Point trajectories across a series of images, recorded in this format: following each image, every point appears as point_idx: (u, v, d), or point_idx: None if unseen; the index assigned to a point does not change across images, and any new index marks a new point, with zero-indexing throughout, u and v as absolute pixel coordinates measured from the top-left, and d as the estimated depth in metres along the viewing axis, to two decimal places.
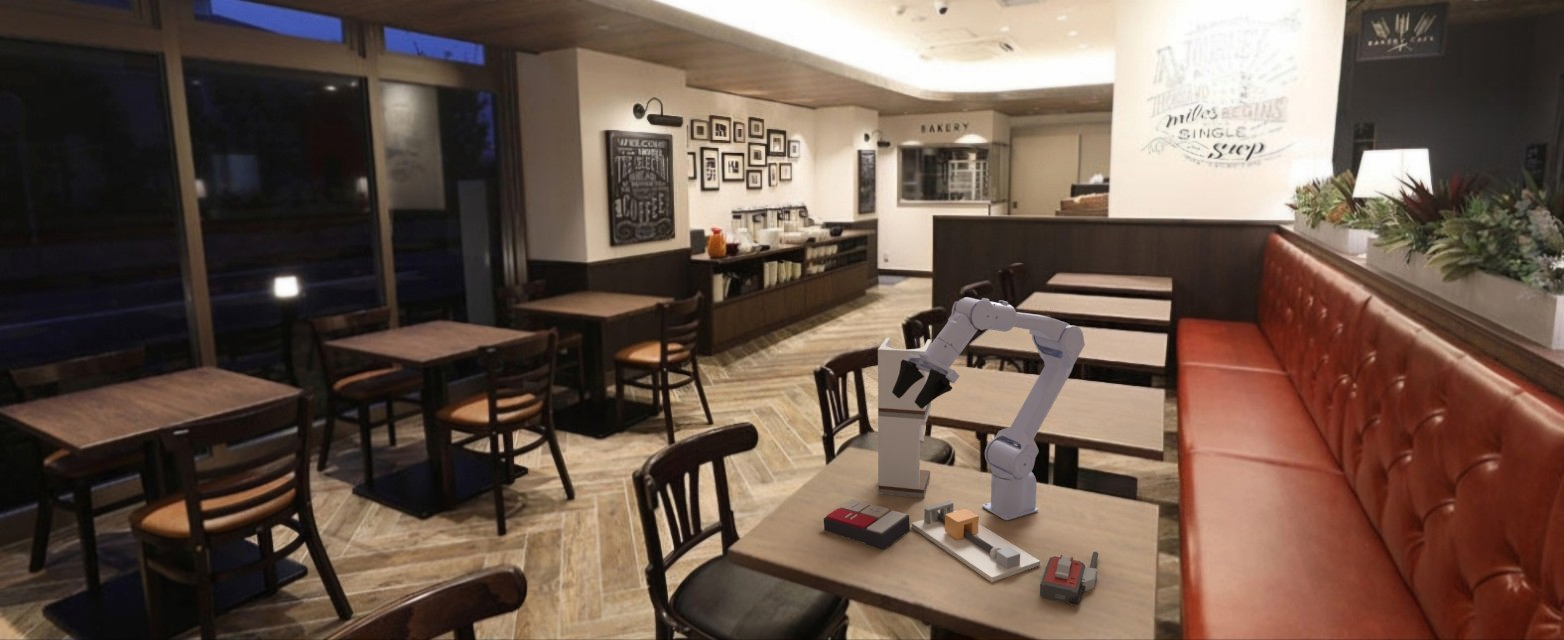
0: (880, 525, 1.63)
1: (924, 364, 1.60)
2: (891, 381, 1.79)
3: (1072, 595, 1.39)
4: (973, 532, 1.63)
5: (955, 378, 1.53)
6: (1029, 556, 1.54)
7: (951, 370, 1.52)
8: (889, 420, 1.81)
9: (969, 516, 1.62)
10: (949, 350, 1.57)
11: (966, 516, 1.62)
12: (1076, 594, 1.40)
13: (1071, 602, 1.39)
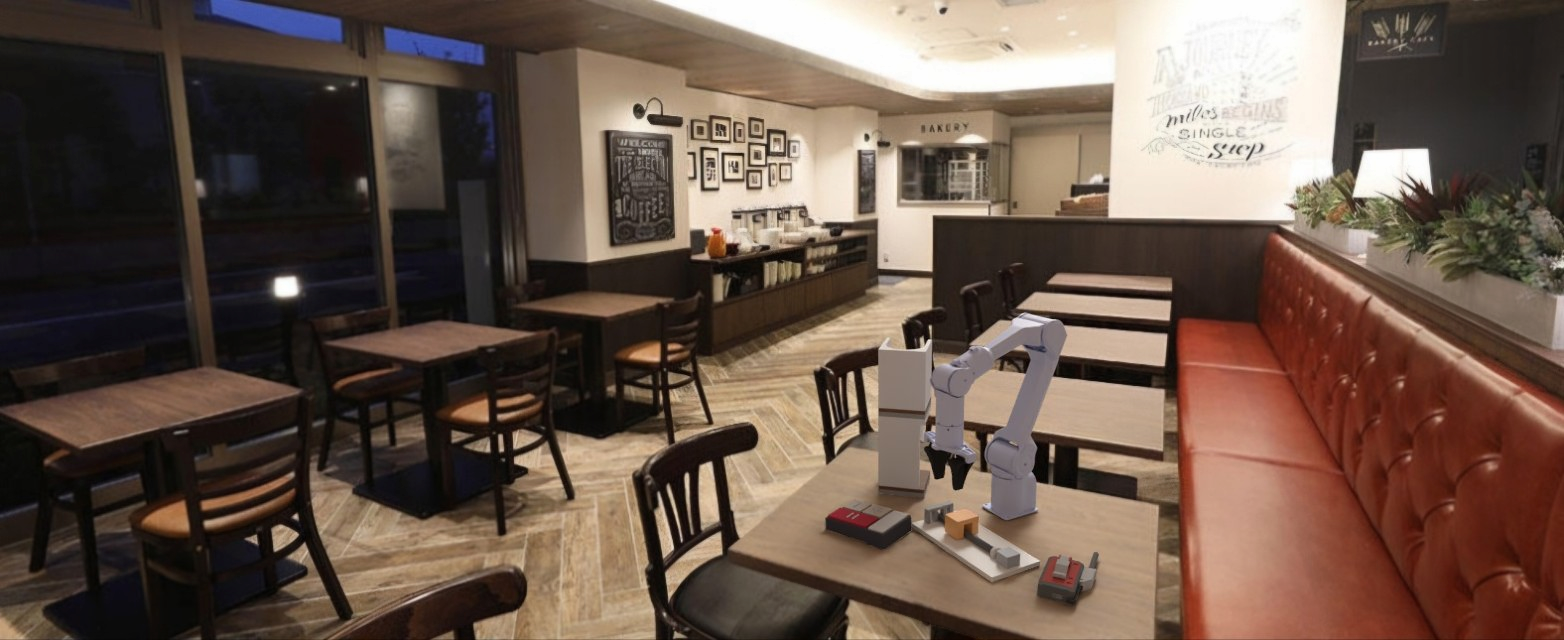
0: (881, 525, 1.63)
1: None
2: (891, 381, 1.79)
3: (1069, 594, 1.40)
4: (973, 532, 1.63)
5: (974, 457, 1.58)
6: (1029, 556, 1.54)
7: (966, 455, 1.58)
8: (890, 421, 1.81)
9: (969, 516, 1.62)
10: (953, 430, 1.60)
11: (966, 516, 1.62)
12: (1073, 594, 1.40)
13: (1068, 602, 1.39)
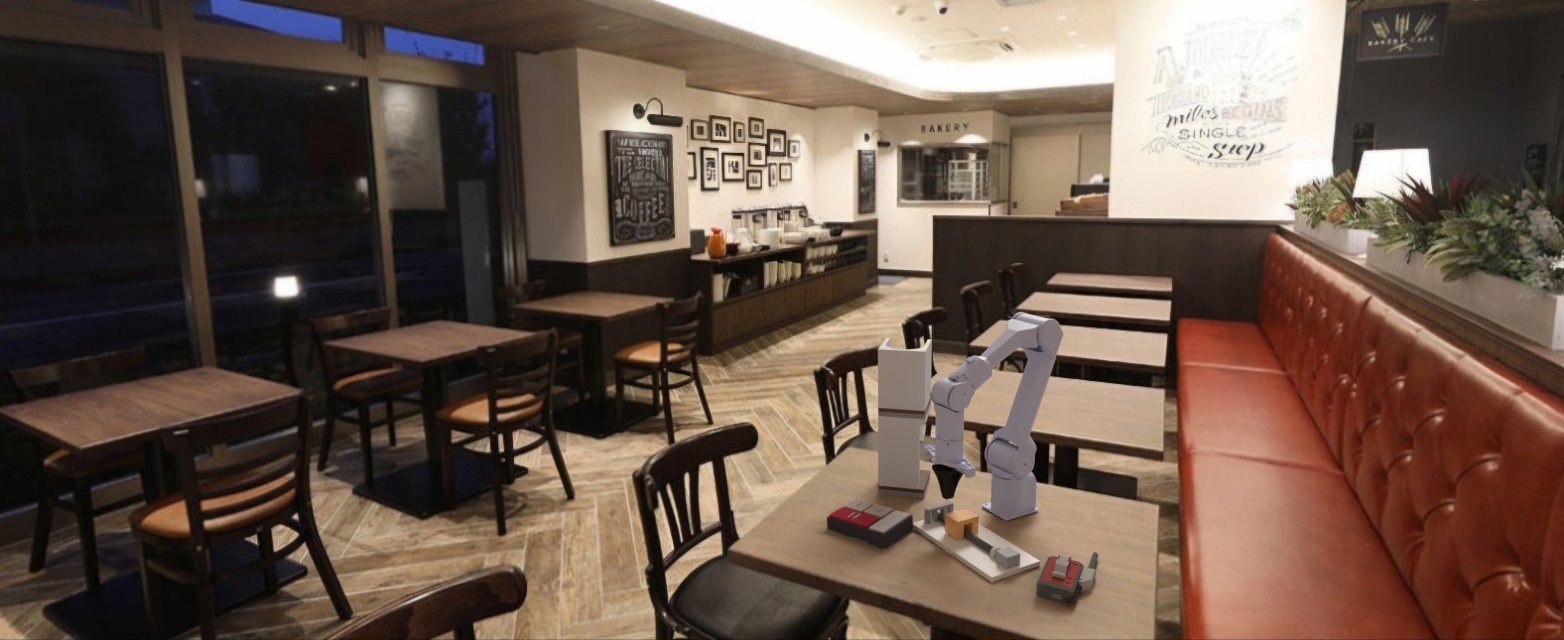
0: (882, 525, 1.63)
1: None
2: (891, 381, 1.79)
3: (1068, 594, 1.40)
4: (973, 532, 1.63)
5: (973, 472, 1.59)
6: (1029, 556, 1.54)
7: (966, 469, 1.58)
8: (889, 420, 1.81)
9: (969, 516, 1.62)
10: (953, 445, 1.61)
11: (966, 516, 1.62)
12: (1072, 594, 1.40)
13: (1067, 602, 1.39)
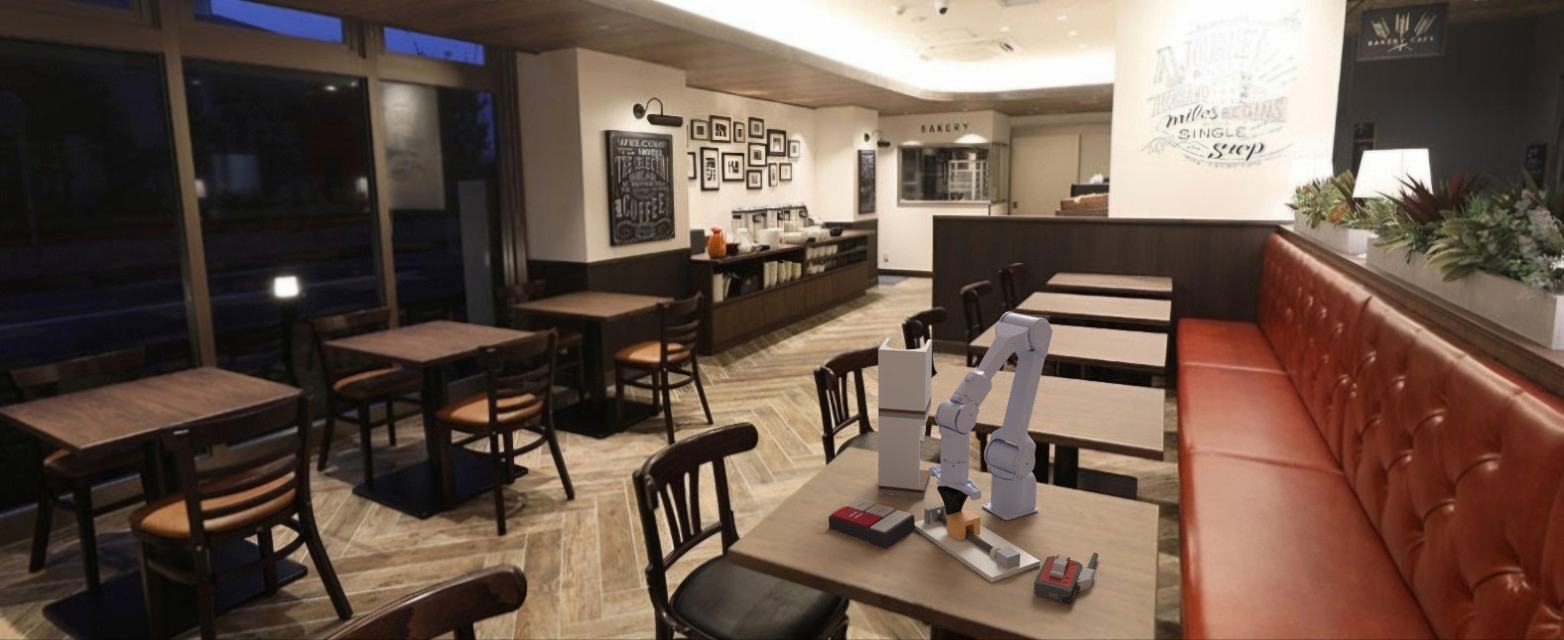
0: (884, 524, 1.63)
1: None
2: (891, 381, 1.79)
3: (1065, 594, 1.40)
4: (975, 533, 1.62)
5: (979, 494, 1.58)
6: (1029, 556, 1.54)
7: (971, 492, 1.58)
8: (890, 421, 1.81)
9: (971, 517, 1.62)
10: (958, 467, 1.60)
11: (968, 518, 1.62)
12: (1069, 593, 1.40)
13: (1064, 601, 1.39)
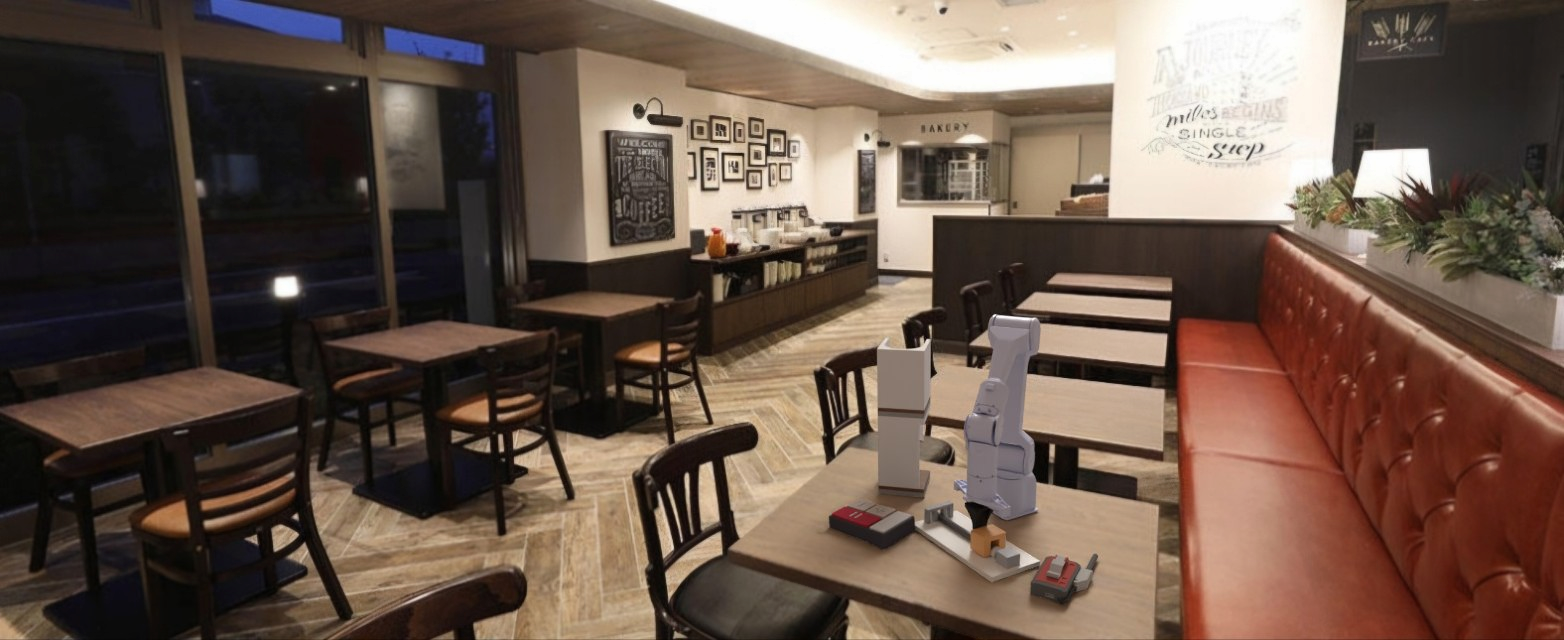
0: (883, 525, 1.63)
1: None
2: (890, 380, 1.80)
3: (1061, 594, 1.40)
4: None
5: (1008, 511, 1.51)
6: (1029, 556, 1.54)
7: (1000, 509, 1.50)
8: (889, 420, 1.82)
9: (996, 532, 1.55)
10: (986, 482, 1.53)
11: (993, 533, 1.55)
12: (1065, 594, 1.40)
13: (1059, 601, 1.39)
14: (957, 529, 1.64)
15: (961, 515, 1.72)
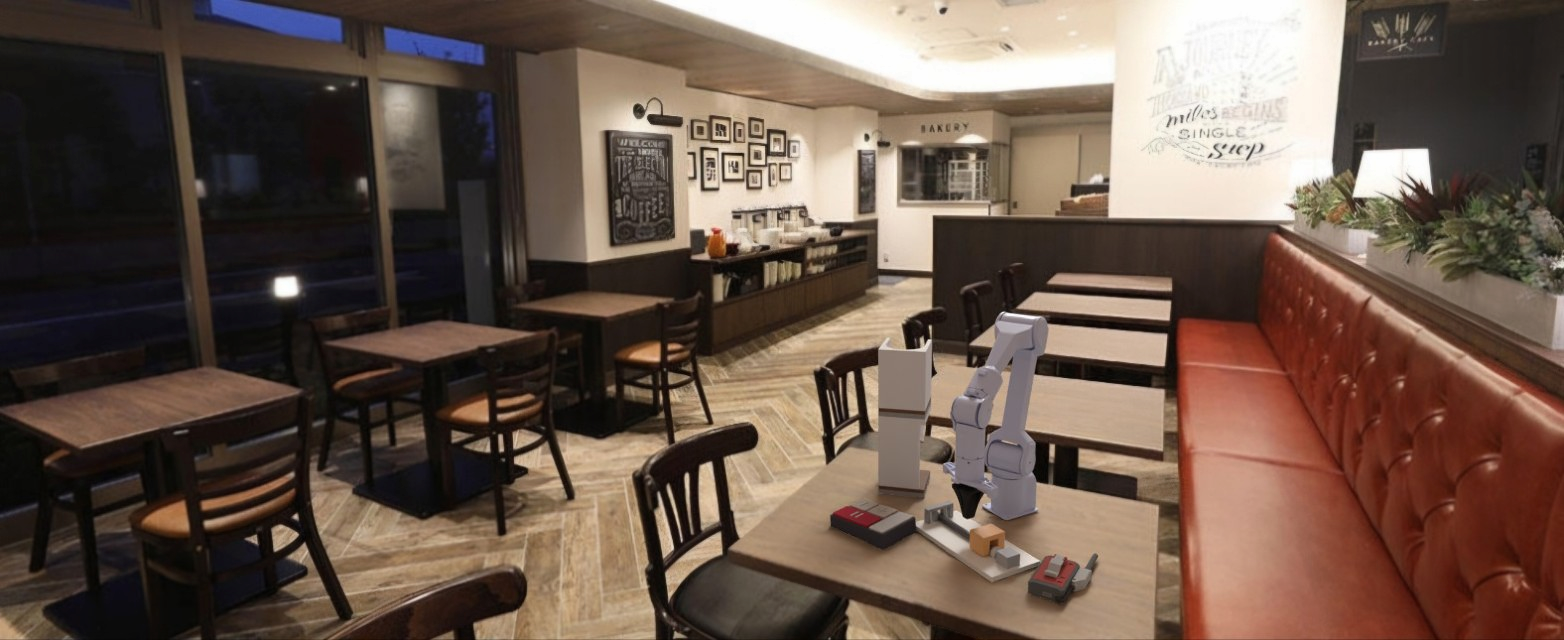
0: (883, 525, 1.63)
1: None
2: (891, 381, 1.79)
3: (1058, 593, 1.40)
4: None
5: (996, 492, 1.53)
6: (1029, 556, 1.54)
7: (988, 489, 1.53)
8: (890, 421, 1.81)
9: (995, 532, 1.56)
10: (974, 464, 1.56)
11: (992, 532, 1.55)
12: (1062, 593, 1.40)
13: (1056, 600, 1.39)
14: (957, 529, 1.64)
15: (961, 515, 1.72)
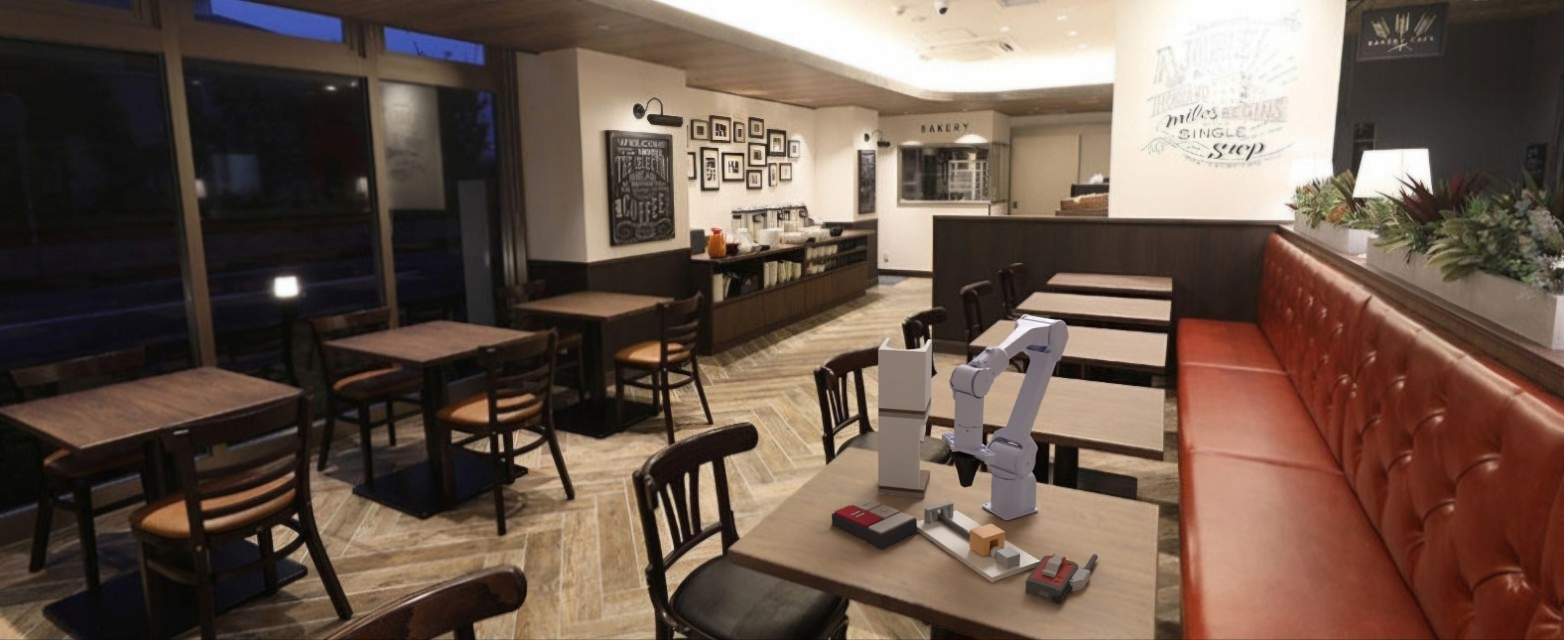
0: (883, 525, 1.63)
1: None
2: (891, 381, 1.79)
3: (1055, 592, 1.40)
4: None
5: (993, 459, 1.57)
6: (1029, 556, 1.54)
7: (985, 456, 1.57)
8: (890, 421, 1.81)
9: (995, 532, 1.56)
10: (972, 432, 1.59)
11: (992, 532, 1.55)
12: (1059, 592, 1.40)
13: (1053, 600, 1.40)
14: (957, 529, 1.64)
15: (961, 515, 1.72)
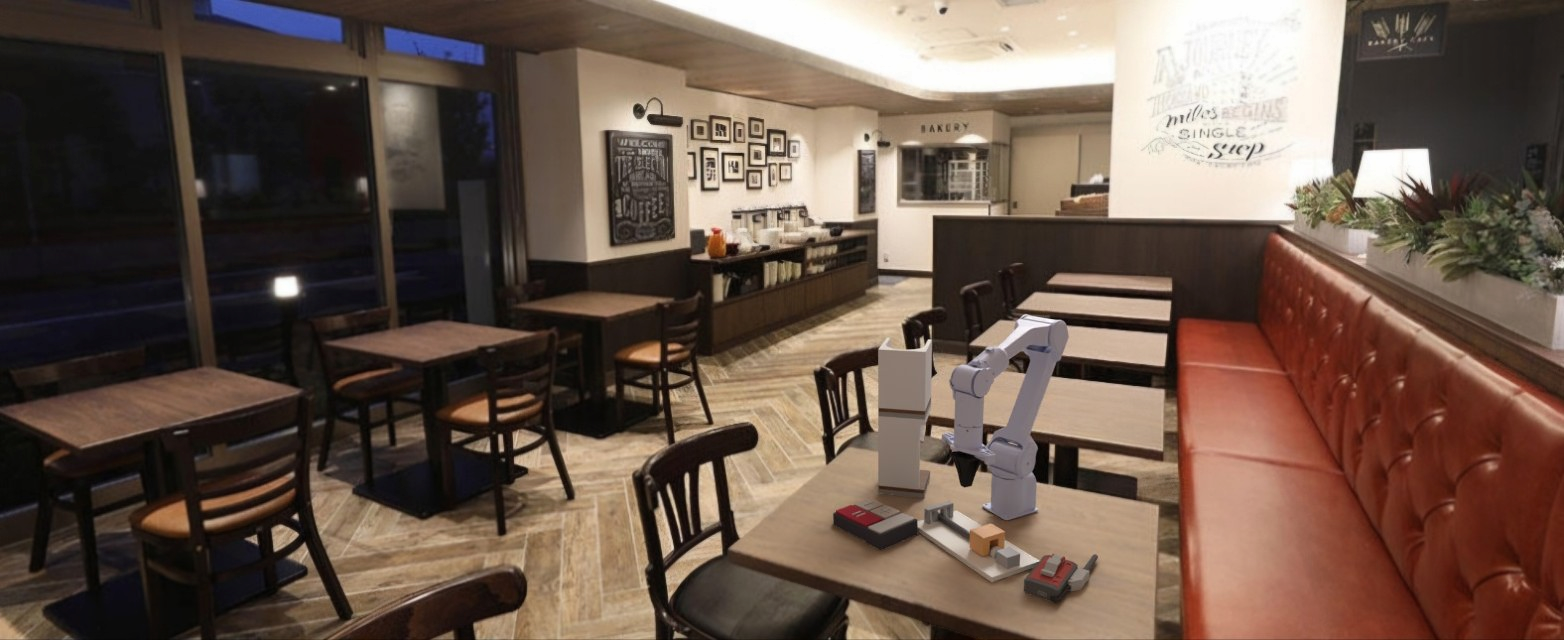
0: (882, 525, 1.63)
1: None
2: (891, 381, 1.79)
3: (1053, 592, 1.40)
4: None
5: (993, 459, 1.57)
6: (1029, 556, 1.54)
7: (985, 456, 1.57)
8: (890, 421, 1.81)
9: (995, 532, 1.56)
10: (972, 432, 1.59)
11: (992, 532, 1.55)
12: (1057, 592, 1.40)
13: (1051, 599, 1.40)
14: (957, 529, 1.64)
15: (961, 515, 1.72)
